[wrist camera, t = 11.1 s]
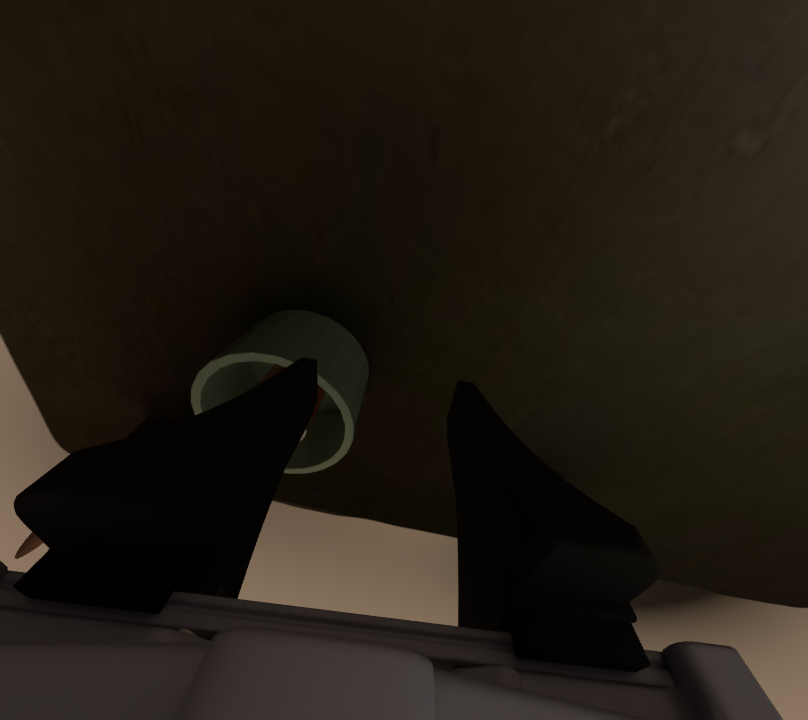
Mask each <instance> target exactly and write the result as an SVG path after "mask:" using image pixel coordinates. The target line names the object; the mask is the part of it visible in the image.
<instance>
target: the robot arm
mask: <svg viewBox="0 0 808 720" xmlns="http://www.w3.org/2000/svg"><path fill="white" fill-rule="evenodd" d="M317 401H318V376H317V360H315V359H309V358H300V359H299V360H297V361H296V362H294V363H292V364H291V365H289V366H288V367H286V368H285V369H283V370H282V371H280V372H278V373H277V374H275V375H274V376H272V377H270V378H269V379H267V380H266V381H264V382H262V383H261V384H259V385H257V386H255V387H253V388H252V389H250V390H248V391H246V392H244V393H243V394H241V395H239V396H237V397H235V398H233V399H231V400H229V401H227V402H225V403H223V404H220V405H218V406H216V407H214V408H212V409H209V410H207V411H205V412H202V413H199V414H197V415H194V416H192V417H189V418H186V419H184V420H181V421H179V422H176V423H173V424H170V425H167V426H164V427H161V428H158V429H155V430H152V431H149V432H145V433H142V434H139V435H136V436H132V437H129V438H125V439H121V440H117V441H113V442H110V443H106V444H102V445H98V446H94V447H90V448H86V449H82V450H78V451H74V452H73V453H71V454H70V455H69V456H68V457H66V458H65V459H64V460H63V461H61V462H60V463H59V464H58V465H56V466H55V467H53V468H52V469H51V470H50V471H48V472H47V473H46V474H44V475H43V476H42V477H40V478H39V479H38V480H37V481H35V482H34V483H33V484H31V485H30V486H29V487H27V488H26V489H25V490H24V491H22V492H21V493H20V494H19V495H17V496H16V499H15V501H14V509H15V512H16V514H17V516H18V517H19V518H20V519H21V521H22V522H23V523H24V524H25V525H26V526H27V527H28V528H29V529H30V530H31V531H32V532H33V533H34V534H35V535H36V536H37V537H38V538H39V539H40V540H41V541H42V542H44V543H45V544H46V545H47V546H48V547H49V548H50V550H49V551H48V552H47V553H46V554H45V555H44V556H43V557H42V558H41V559H40V560H39V561H38V562H37V563H35V565H33V567H31V568H30V570H28V572H26V573H24V572H17V571H8V570H7V566H5V565H4V563H2V562H1V561H0V720H783V719H782V717H781V716H780V714H779V713H778V711H777V710H776V708H775V707H774V706H773V704H772V703H771V701H770V700H769V698H768V697H767V695H766V694H765V692H764V691H763V689H762V688H761V686H760V685H759V683H758V682H757V680H756V679H755V677H754V676H753V674H752V673H751V671H750V670H749V668H748V667H747V665H746V664H745V662H744V661H743V659H742V658H741V656H740V655H739V653H738V652H737V650H736V649H734V648H732V647H730V646H723V645H716V644H708V643H700V642H686V641H685V642H677V643H674V644H672V645H669V646H668V647H666V648H665V649H663V651H662V652H658V651H650V650H644V649H643V647H642V645H641V643H640V641H639V638H638V636H637V634H636V632H635V630H634V628H633V626H632V624H631V623H634V622H636V621H637V619H636V618H637V617H636V615H635V613H634V611H633V609H632V607H631V605H630V603H629V602H630V601H631V600H633V599H634V598H635V597H637V596H638V595H639V594H641V593H642V592H644V591H645V590H646V589H648V588H649V587H650V586H651V585H652V584H653V583H654V582H655V581H656V580H657V578H658V575H659V572H660V569H659V564H658V563H657V561H656V559H655V558H654V556H653V555H652V553H651V551H650V550H649V548H648V546H647V545H646V543H645V542H644V540H643V538H642V537H641V535H640V534H639V532H638V530H637V529H636V527H634V526H633V525H631V524H629V523H628V522H626V521H625V520H623V519H622V518H620V517H618V516H617V515H615V514H614V513H612V512H611V511H609V510H607V509H606V508H604V507H603V506H601V505H600V504H598V503H597V502H595V501H594V500H592V499H591V498H589V497H588V496H587V495H585V494H584V493H582V492H581V491H580V490H578V489H577V488H575V487H574V486H573V485H571V484H570V483H569V482H568V481H567V480H566V479H563V478H562V477H561V476H560V475H559V474H557V473H556V472H555V471H554V470H552V469H551V468H550V467H549V466H548V465H546V464H545V463H544V462H543V461H542V460H541V459H539V458H538V457H537V456H536V455H535V454H534V453H533V452H532V451H531V450H530V449H529V448H528V447H527V446H526V445H525V444H524V443H523V442H522V441H521V440H520V439H519V438H518V437H517V436H516V435H515V434H514V433H513V432H512V431H511V430H510V429H509V428H508V426H507V425H506V424H505V423H504V422H503V421H502V419H501V418H500V417H499V416H498V415H497V413H496V412H495V411H494V410H493V408H492V407H491V406H490V405H489V403H488V402H487V401H486V399H485V398H484V397H483V395H482V394H481V393H480V391H479V390H478V389H477V387H476V386H475V385H474V383H471V382H464V381H458V383H457V386H456V390H455V393H454V396H453V400H452V403H451V406H450V410H449V413H448V417H447V440H448V447H449V454H450V461H451V468H452V474H453V481H454V488H455V497H456V512H457V537H458V587H459V588H458V589H459V590H458V591H459V592H458V594H459V595H458V598H459V599H458V602H459V603H458V626H450V625H441V624H433V623H425V622H418V621H410V620H401V619H394V618H386V617H377V616H369V615H362V614H353V613H345V612H337V611H329V610H321V609H313V608H305V607H296V606H289V605H281V604H273V603H265V602H257V601H249V600H241V599H238V595H239V592H240V589H241V586H242V583H243V580H244V577H245V574H246V571H247V568H248V565H249V562H250V559H251V556H252V553H253V551H254V548H255V545H256V542H257V540H258V537H259V534H260V531H261V528H262V526H263V523H264V520H265V518H266V515H267V512H268V510H269V507H270V504H271V502H272V499H273V497H274V494H275V492H276V489H277V487H278V484H279V482H280V479H281V477H282V475H283V473H284V471H285V468H286V466H287V464H288V463H289V461H290V459H291V457H292V455H293V453H294V451H295V449H296V447H297V445H298V443H299V442H300V440H301V438H302V436H303V434H304V432H305V430H306V428H307V426H308V424H309V422H310V420H311V417H312V415H313V412H314V409H315V406H316V404H317Z"/></svg>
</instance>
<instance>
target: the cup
mask: <svg viewBox="0 0 808 720" xmlns="http://www.w3.org/2000/svg"><path fill="white" fill-rule="evenodd" d="M300 358H309V359H315V360H317V376H318V385H319V386H320V387H321V388H322V389H324V390H325V391H326V393H325V395H324V397H323V399H322V402H321V404H320V406H319V408H318V410H317V412H316V415H315V417H314V419H313V421H312V423H311V425H310V427H309V429H308V431H307V433H306V435H305V437H304V438H303V440H301V441H300V442H299V443H298V445H297V447H296V449H295V451H294V453H293V455H292V457H291V459H290V461H289V463H288V464H287V466H286V468H285V471H284V473H288V474H297V473H310V472H315V471H319V470H323V469H325V468H327V467H329V466H331V465H333V464H335V463H336V462H338V461H339V460H340V459H341V458H342V457H343V456H344V455H345V454H346V453H347V452H348V450H349V448H350V446H351V444H352V441H353V438H354V435H355V431H356V427H357V424H358V420H359V416H360V413H361V409H362V405H363V402H364V398H365V394H366V390H367V386H368V380H369V366H368V361H367V358H366V355H365V353H364V351H363V349H362V347H361V346H360V344H359V342H358V341H357V340H356V339H355V337H354V336H353V335H352V334H351V333H350V332H349V331H348V330H347V329H345V328H344V327H343V326H342V325H340V324H339V323H337V322H335V321H334V320H332V319H330V318H328V317H326V316H324V315H321V314H318V313H315V312H311V311H306V310H283V311H278V312H275V313H272V314H269V315H267V316H265V317H264V318H262V319H261V320H259V321H258V322H257V323H256V324H254V325H253V326H252V327H251V328H250V329H248V330H247V331H246V332H245V333H244V334H242V335H241V336H240V337H239V338H238V339H237V340H235V341H234V342H233V343H232V344H231V345H229V346H228V347H227V348H226V349H225V350H223V351H222V352H221V353H220V354H219V355H217V356H216V357H215V358H214V359H213V360H212V361H210V362H209V363H208V364H207V365H206V366H205V367H203V368H202V369H201V370H200V371H199V372H198V374H197V376H196V378H195V380H194V382H193V384H192V387H191V404H192V407H193V410H194V413H195V415H197V414H199V413H202V412H205V411H207V410H209V409H212V408H214V407H216V406H218V405H220V404H223V403H225V402H227V401H229V400H231V399H233V398H235V397H237V396H239V395H241V394H243V393H244V392H246V391H248V390H250V389H252V388H253V387H255V386H257V385H258V384H259V382H260V381H261V380H262V379H263V378H264V376H265V375H266V374H267V373H268V371H269V370H270V369H271V368H272V367H273V365H274V364H277V365H280V366H283V367H288V366H289V365H291V364H292V363H294V362H296V361H297V360H299V359H300Z"/></svg>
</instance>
